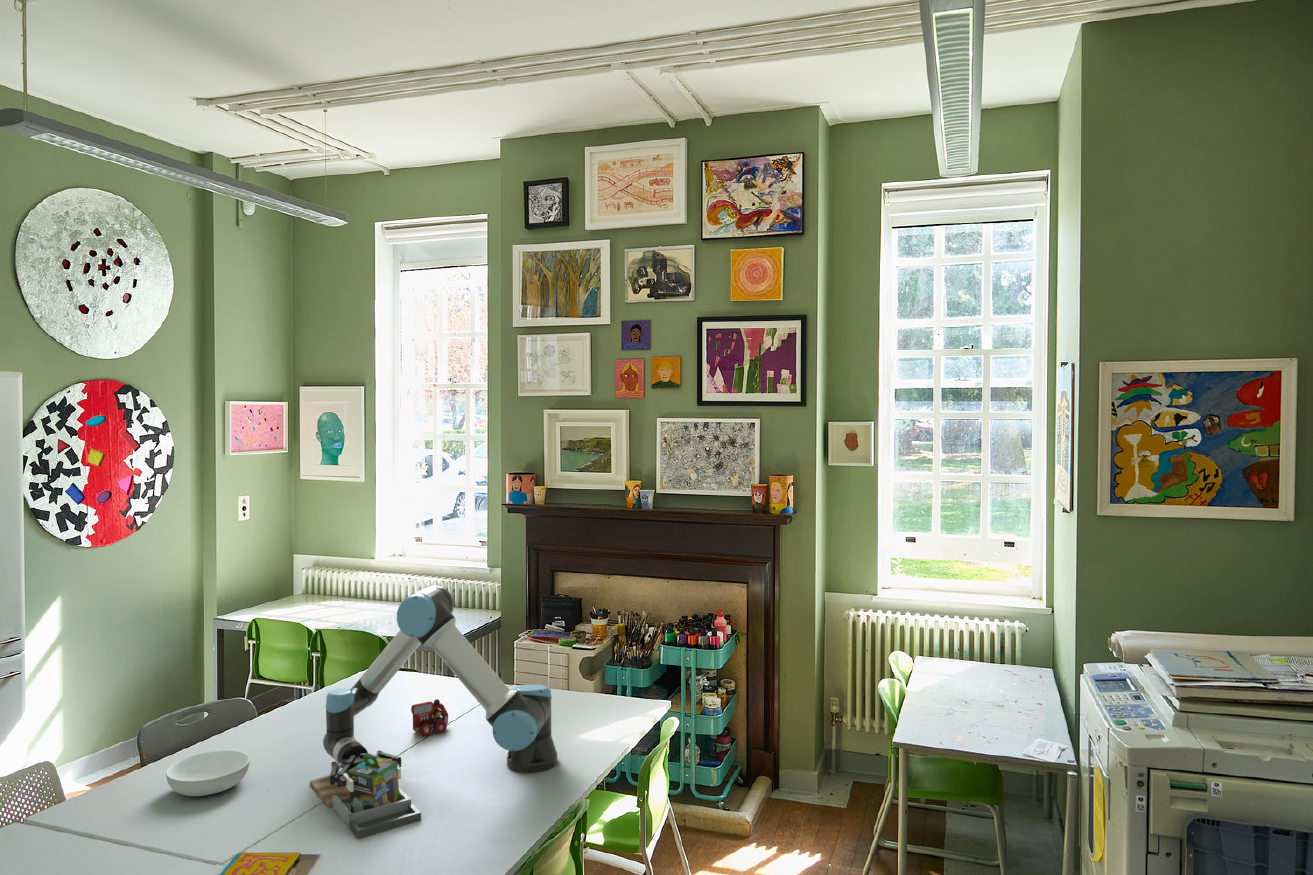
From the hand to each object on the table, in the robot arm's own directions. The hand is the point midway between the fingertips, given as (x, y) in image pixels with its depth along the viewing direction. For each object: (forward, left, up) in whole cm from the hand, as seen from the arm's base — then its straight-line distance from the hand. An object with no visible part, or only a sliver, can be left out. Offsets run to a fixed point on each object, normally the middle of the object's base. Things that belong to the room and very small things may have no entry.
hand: (376, 780), depth 218 cm
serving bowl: (+54, +6, -9) cm, 55 cm away
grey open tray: (0, 0, -9) cm, 9 cm away
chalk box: (+2, -2, -9) cm, 9 cm away
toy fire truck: (+24, -53, -9) cm, 59 cm away
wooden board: (+18, -10, -9) cm, 22 cm away
